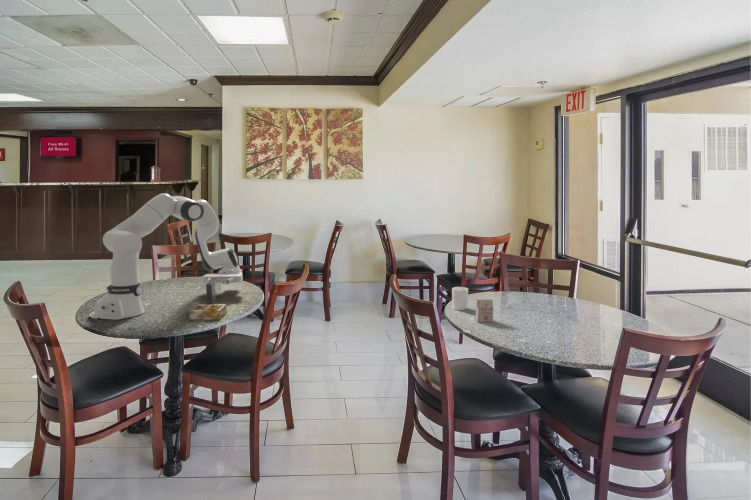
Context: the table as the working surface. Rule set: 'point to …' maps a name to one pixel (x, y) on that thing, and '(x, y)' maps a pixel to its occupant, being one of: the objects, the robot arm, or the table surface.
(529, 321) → the table surface
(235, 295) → the table surface
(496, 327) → the table surface
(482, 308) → the red and white carton
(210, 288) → the block
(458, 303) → the white cup
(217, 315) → the wooden divided box
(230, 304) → the table surface
